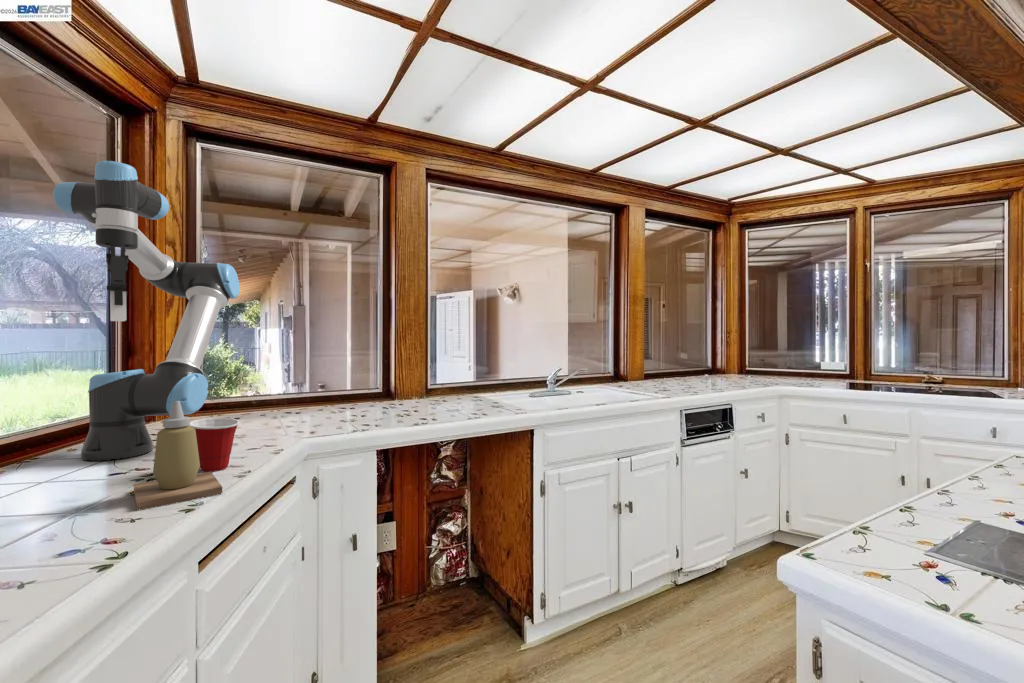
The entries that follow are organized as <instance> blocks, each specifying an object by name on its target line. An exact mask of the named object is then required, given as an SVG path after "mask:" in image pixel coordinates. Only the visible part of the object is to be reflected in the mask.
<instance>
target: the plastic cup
mask: <svg viewBox="0 0 1024 683" xmlns="http://www.w3.org/2000/svg"><path fill="white" fill-rule="evenodd" d="M240 423H241V422H240V420H238V419H236V418H230V417H210V418H209V417H208V418H200V419H195V420H190V425H189V426H191V427H193V428H194V429H195V431H196V438H197V446H198V454H199V461H200V467H199V469H200V471H201V472H203V473H205V472H217V471H221V470H225V469H227V468H228V467H229V463H230V457H231V453H232V450H233V445H234V440H235V433H236V430H237V428H238V426H239V424H240Z"/></svg>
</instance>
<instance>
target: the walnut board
mask: <svg viewBox="0 0 1024 683" xmlns="http://www.w3.org/2000/svg"><path fill="white" fill-rule="evenodd" d="M221 493H222V494H223V486H222V484H221V483H220V481H219V480H218V479H217V477H216V476H215V475H214V473H213V471H211V472H200V473H197V475H196V478H195V481H194V483H193V484H191V485H189V486H186V487H182V488H178V489H161V488H160V487H159V484H158V482H157V480H153V481H152V480H151V481H145V482H141V483H134V484H133V496H134V495H135V496H134V500H135V501H136V502H135V501H134V502H135V506H136V507H137V508H136V511H137V510H138V511H140V510H139V509H143V510H146V509H145V508H148V509H152V508H151V507H153V508H156V507H155V506H158V507H162V506H161V505H163V506H168V505H172V504H171V503H173V504H176V502H178V503H182V501H183V502H187V501H186V500H189V501H193V500H192V499H194V500H198V499H197V498H199V499H203V498H202V497H204V498H208V497H207V496H209V497H212V496H213V495H214V496H218V495H217V494H219V495H222V494H221ZM214 496H213V497H214ZM167 504H168V505H167Z"/></svg>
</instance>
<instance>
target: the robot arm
mask: <svg viewBox="0 0 1024 683" xmlns="http://www.w3.org/2000/svg"><path fill="white" fill-rule="evenodd" d="M94 169H95V170H94V177H93V179H94V182H82V181H81V182H80V181H71V182H70V181H67V182H65V181H62V182H59V183H58V184H56V185H55V187H54V189H53V192H52V196H53V200H54V202H55V205H56V206H57V207H58V209H60V210H61V211H62V212H65V213H67V214H73V215H77V214H80V215H81V216H82V217H83V218H84V219H85V220H87V221H88V222H89V223H90V224H91V225H92V226H93V227H94V228H95V244H96V245H97V246H98V247H103V248H108V249H109V251H110V253H106V260H105V262H106V263H107V272H108V273H110V284H109V285H106V291H109V301H110V303H109V304H110V305H109V306H110V307H109V308H110V309H109V310H110V315H109V316H110V317H109V318H110V319H109V320H110V322H126V321H127V319H128V318H127V296H128V295H129V294H128V291H127V283H126V282H127V281H126V280H127V279H126V275H127V274H126V273H127V271H128V264H129V261H131V263H133V264H134V265H135V266H136V267H137V268H138V271H139V274H140V275H141V277H143V278H144V279H145V280H146V281H147V282H149V283H150V284H151V285H152V286H154V287H156V288H157V289H159V290H160V291H162V292H165V293H166V294H170V295H172V296H175V297H179V298H185V299H187V300H188V302H187V305H186V308H185V310H184V312H183V315H182V317H181V320H180V322H179V326H178V328H177V330H176V333H175V336H174V339H173V341H172V343H171V346H170V348H169V350H168V351H169V352H168V354H167V356H166V358H165V359H166V360H165V361H161V362H159V363H158V364H156V367H155V370H154V372H153V373H146V372H145V370H144V369H143V368H137V369H131V370H124V371H115V372H106V373H100V374H94V375H92V377H90V379H89V385H88V391H87V393H88V403H89V404H88V405H89V408H88V409H89V410H88V413H89V416H88V418H89V428H88V432H87V436H86V438H85V441H84V443H83V445H82V448H81V450H80V457H81V458H80V459H81V460H82V459H83V460H82V461H86V460H91V461H90V462H100V461H99V460H106V461H112V460H111V459H116V460H121V459H120V458H123V459H128V458H127V457H129V458H134V457H138V456H142V455H144V453H146V454H148V453H150V452H153V449H154V447H153V446H154V445H153V444H154V443H153V440H152V437H151V435H150V433H149V431H148V430H149V429H148V428H147V426H146V422H145V417H147V416H148V417H153V416H155V417H159V416H163V417H164V416H169V415H170V412H171V408H172V404H173V401H180V404H181V407H182V411H183V414H184V416H185V415H192V414H194V413H197V412H198V411H199V410H200V409H201V408H202V407H203V406H204V404H205V402H206V400H207V397H208V395H209V394H208V393H209V390H208V388H209V381H208V379H207V378H206V376H205V373H204V371H203V369H201V366H202V364H203V360H204V357H205V355H206V352H207V348H208V345H209V342H210V340H211V336H212V334H213V330H214V327H215V324H216V322H217V318H218V316H219V312H220V310H221V309H223V308H225V307H226V306H227V305H228V303H229V299H231V300H233V299H237V298H238V297H239V295H240V281H239V277H238V273H237V271H236V269H235V268H234V267H233V265H231V264H229V263H221V262H216V263H213V262H212V263H211V262H210V263H208V262H207V263H206V262H186V261H177V260H174V259H173V258H172V257H171V256H170V255H167V254H165V253H162V252H161V250H160V249H159V248H158V247H157V246H155V244H154V243H153V242H152V241H151V240H150V239H149V238H148V237H147V236H146V235H145V234H144V233H143V232H142V231H141V230H140V229H139V228H138V227H139V223H138V222H139V219H138V218H139V217H142V218H144V219H149V220H153V221H154V220H156V221H157V220H160V219H163V218H164V217H166V215H167V214H168V213H169V210H170V204H169V201H168V199H167V198H166V197H165V195H163V194H162V193H161V192H159V191H158V190H156V189H154V188H151V187H149V186H148V185H145V184H143V183H141V182H140V181H138V179H139V177H138V173H137V170H136V168H135V167H134V166H132V165H130V164H127V163H123V162H120V161H115V160H114V161H113V160H100V161H97V162H96V164H95V167H94ZM147 452H148V453H147ZM141 454H142V455H141ZM137 455H138V456H137ZM133 456H134V457H133ZM94 460H95V461H94ZM96 460H97V461H96Z"/></svg>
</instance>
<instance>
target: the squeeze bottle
mask: <svg viewBox="0 0 1024 683" xmlns="http://www.w3.org/2000/svg"><path fill="white" fill-rule="evenodd" d="M190 422H191V417H189V416H185V415H184V414H183V411H182V407H181V404H180V401H173V404H172V408H171V412H170V415H169V417H167V418H164V419H163V420H162V429H159V431H157V435H156V443H155V451H154V460H153V467H152V468H153V469H152V473H153V476H154V478H155V481H157V482H158V484H159V487H160V488H161V489H178V488H182V487H186V486H189V485H191V484H193V483H194V481H195V478H196V475H197V474H199V473H198V472H199V469H200V461H199V454H198V446H197V438H196V431H195V429H194V428H193V427H191V426H189V425H190Z"/></svg>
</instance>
